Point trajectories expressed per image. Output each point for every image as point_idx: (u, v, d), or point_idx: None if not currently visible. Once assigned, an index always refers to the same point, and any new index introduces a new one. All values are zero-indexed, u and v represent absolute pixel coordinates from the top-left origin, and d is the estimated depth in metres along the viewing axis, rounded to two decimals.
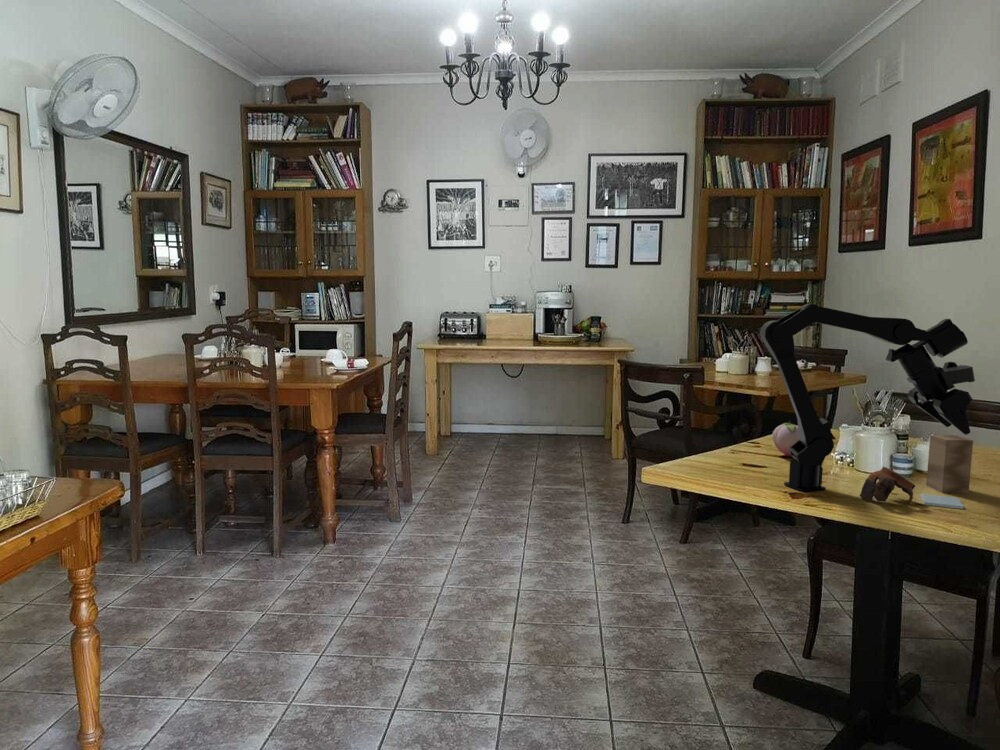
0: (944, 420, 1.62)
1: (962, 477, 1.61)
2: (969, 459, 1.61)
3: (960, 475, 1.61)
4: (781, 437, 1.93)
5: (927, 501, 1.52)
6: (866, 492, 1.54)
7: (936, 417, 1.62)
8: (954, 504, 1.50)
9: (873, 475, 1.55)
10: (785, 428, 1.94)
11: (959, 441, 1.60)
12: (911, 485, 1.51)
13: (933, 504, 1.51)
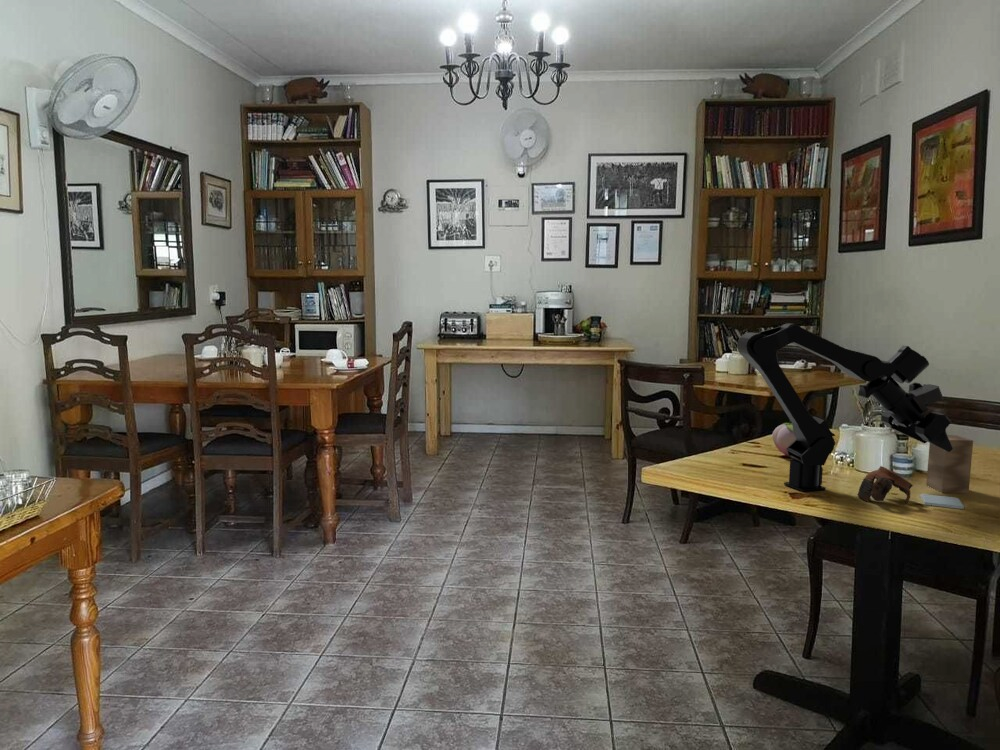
0: (921, 437, 1.68)
1: (962, 477, 1.61)
2: (969, 459, 1.61)
3: (960, 475, 1.61)
4: (781, 437, 1.93)
5: (927, 501, 1.52)
6: (864, 492, 1.55)
7: (913, 436, 1.68)
8: (954, 504, 1.50)
9: (871, 475, 1.55)
10: (785, 428, 1.94)
11: (959, 441, 1.60)
12: (908, 484, 1.52)
13: (933, 504, 1.51)
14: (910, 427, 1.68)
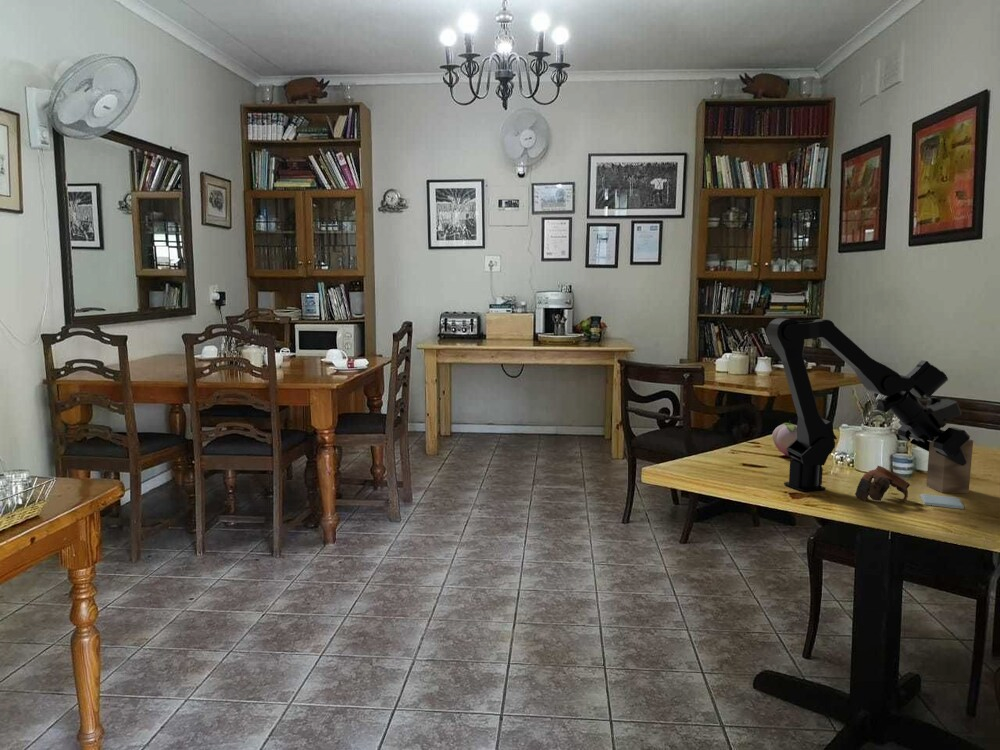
0: None
1: (962, 477, 1.61)
2: (969, 459, 1.61)
3: (960, 475, 1.61)
4: (781, 437, 1.93)
5: (927, 501, 1.52)
6: (862, 491, 1.55)
7: None
8: (954, 504, 1.50)
9: (868, 474, 1.55)
10: (785, 428, 1.94)
11: None
12: (906, 484, 1.52)
13: (933, 504, 1.51)
14: None
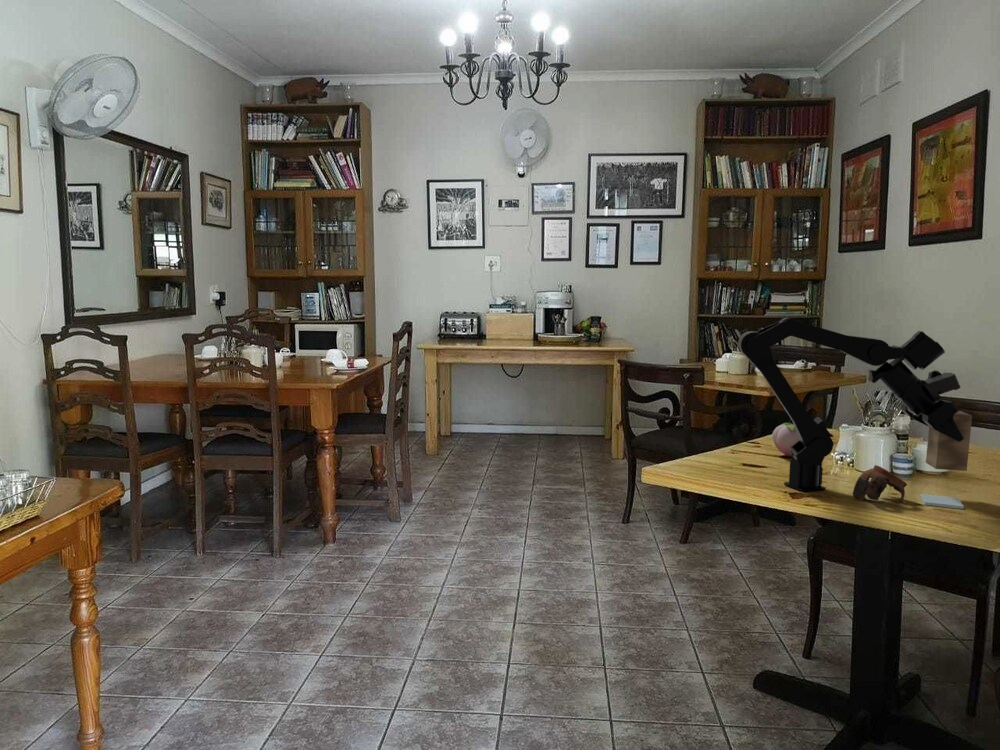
0: None
1: (959, 453, 1.54)
2: (967, 435, 1.53)
3: (956, 452, 1.54)
4: (781, 437, 1.93)
5: (927, 501, 1.52)
6: (859, 490, 1.56)
7: None
8: (954, 504, 1.50)
9: (865, 473, 1.56)
10: (785, 428, 1.94)
11: (956, 415, 1.54)
12: (903, 483, 1.53)
13: (933, 504, 1.51)
14: None
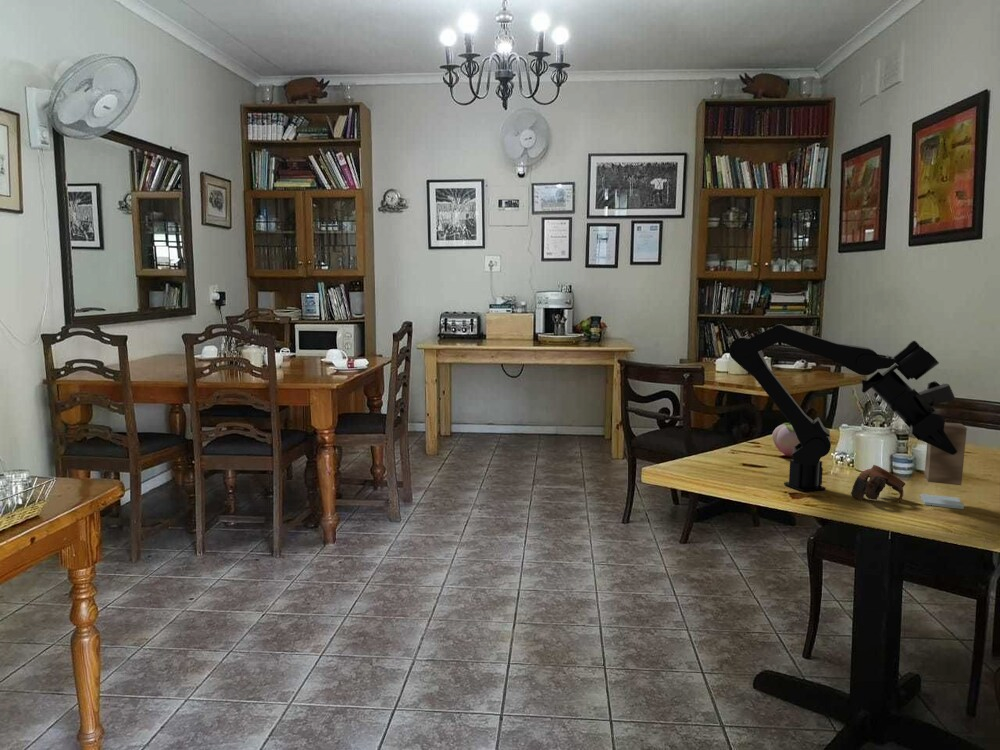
0: None
1: (953, 467, 1.50)
2: (962, 448, 1.49)
3: (950, 465, 1.50)
4: (781, 437, 1.93)
5: (927, 501, 1.52)
6: (858, 490, 1.56)
7: None
8: (954, 504, 1.50)
9: (864, 473, 1.56)
10: (785, 428, 1.94)
11: (949, 428, 1.49)
12: (901, 483, 1.53)
13: (933, 504, 1.51)
14: None
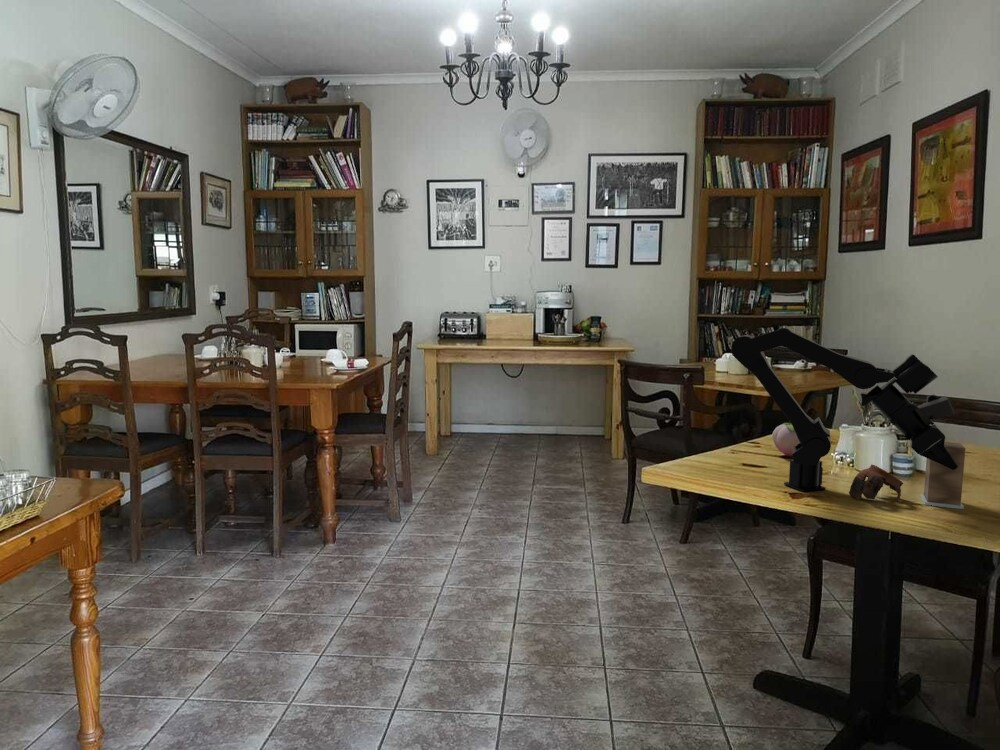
0: None
1: (952, 487, 1.50)
2: (961, 468, 1.49)
3: (949, 485, 1.50)
4: (781, 437, 1.93)
5: None
6: (855, 490, 1.56)
7: None
8: None
9: (862, 473, 1.56)
10: (785, 428, 1.94)
11: (948, 448, 1.50)
12: (899, 482, 1.53)
13: (933, 504, 1.51)
14: None
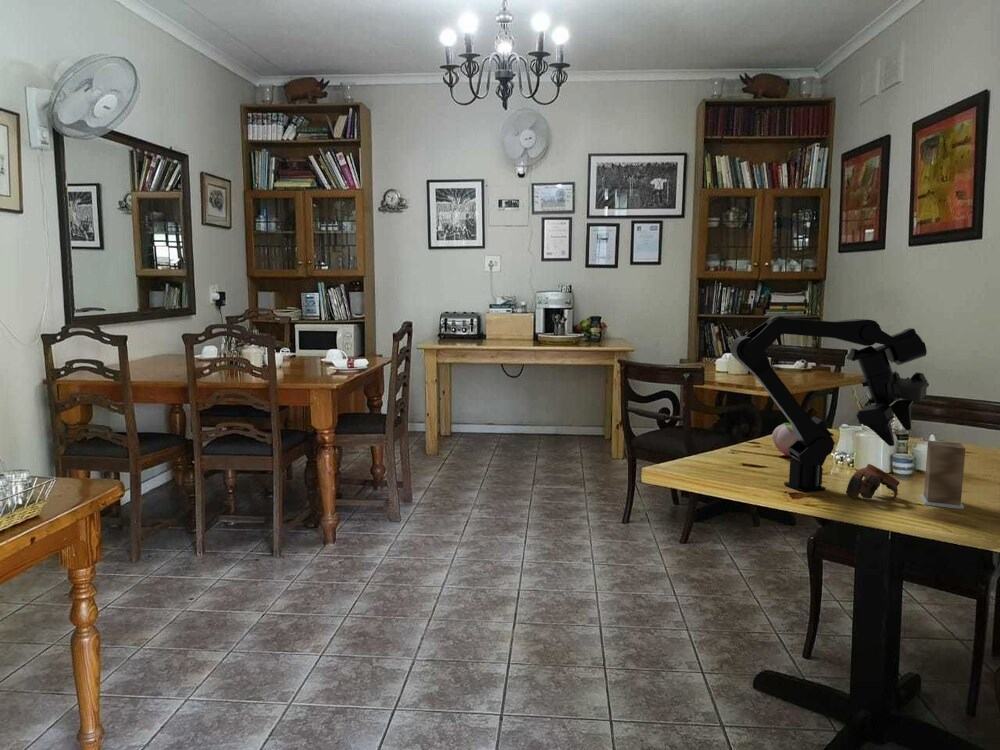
0: (904, 423, 1.64)
1: (952, 487, 1.50)
2: (961, 468, 1.49)
3: (949, 485, 1.50)
4: (781, 437, 1.93)
5: None
6: (852, 489, 1.57)
7: (898, 418, 1.65)
8: None
9: (859, 472, 1.57)
10: (785, 428, 1.94)
11: (948, 448, 1.50)
12: (896, 482, 1.54)
13: (933, 504, 1.51)
14: (900, 409, 1.64)
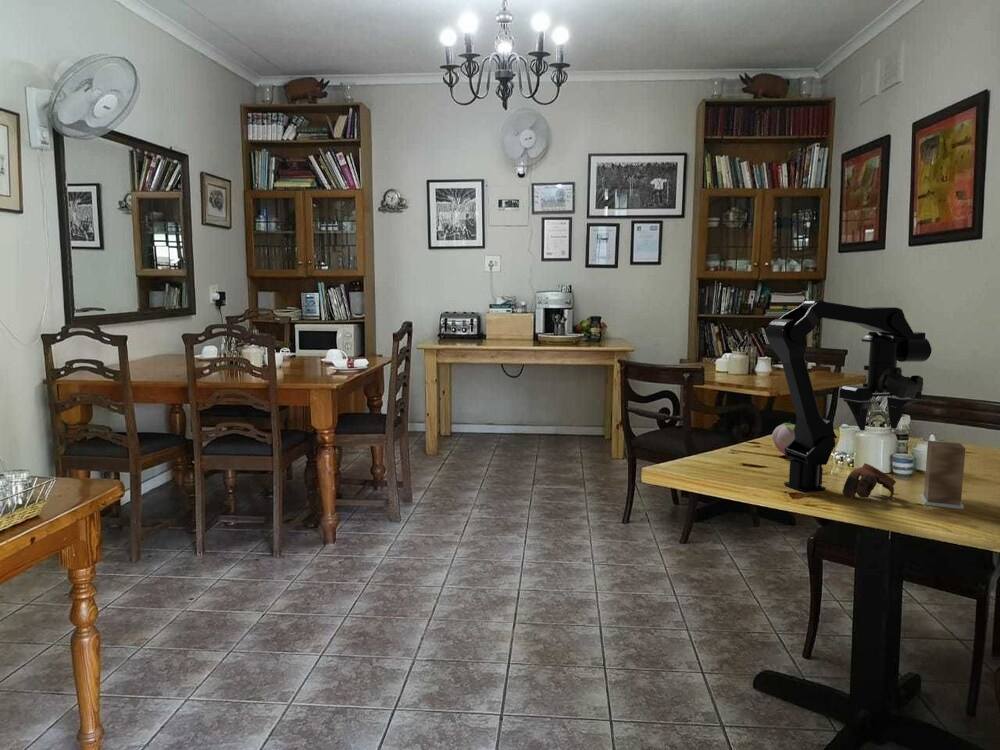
0: (892, 421, 1.68)
1: (952, 487, 1.50)
2: (961, 468, 1.49)
3: (949, 485, 1.50)
4: (781, 437, 1.93)
5: None
6: (849, 489, 1.57)
7: (889, 414, 1.69)
8: None
9: (855, 472, 1.57)
10: (785, 428, 1.94)
11: (948, 448, 1.50)
12: (892, 481, 1.54)
13: (933, 504, 1.51)
14: (895, 406, 1.68)
